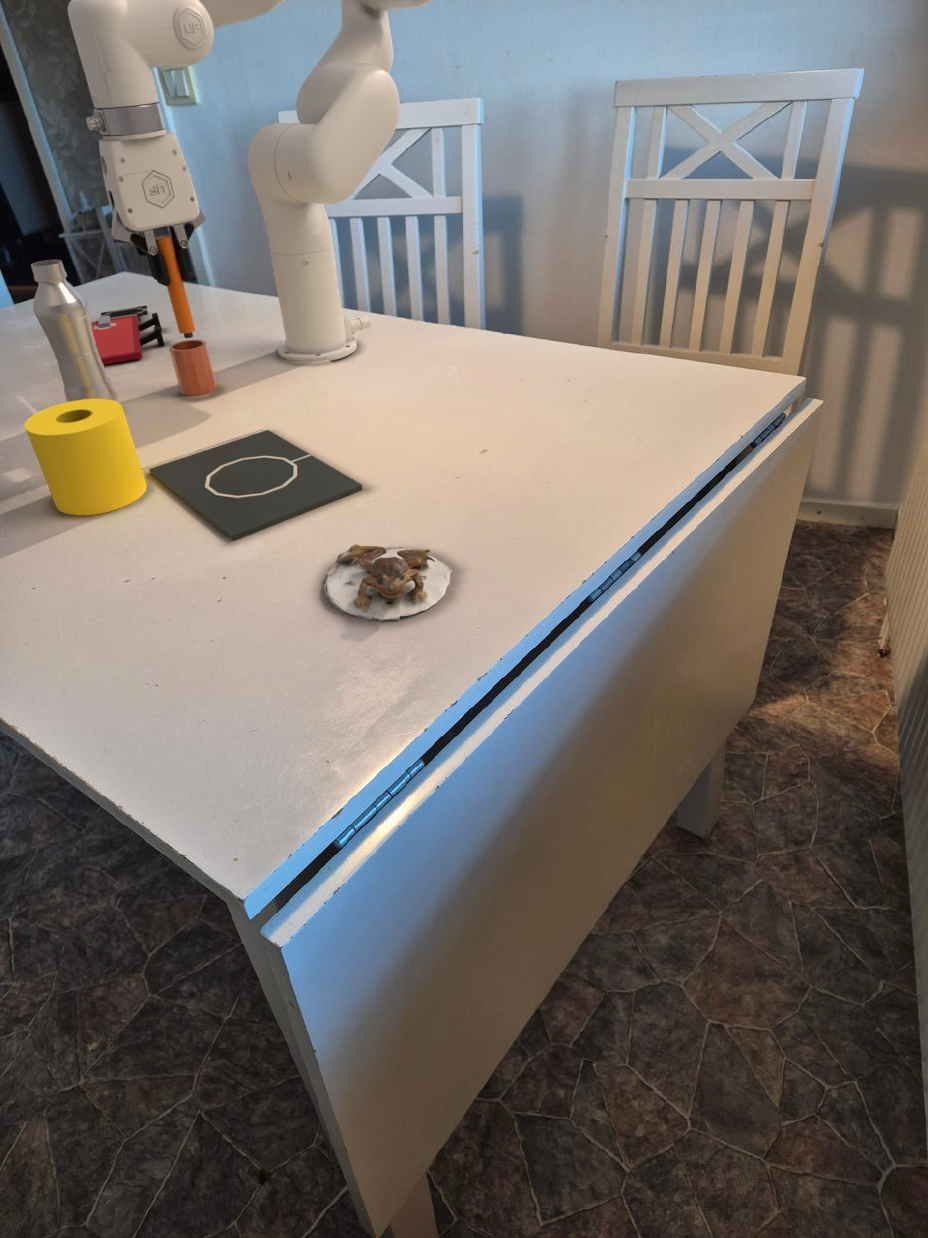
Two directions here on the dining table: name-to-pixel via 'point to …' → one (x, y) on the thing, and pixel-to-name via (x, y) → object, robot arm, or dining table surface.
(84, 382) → the silver bottle
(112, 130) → the robot arm
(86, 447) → the yellow hollow cylinder
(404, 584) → the frog figurine
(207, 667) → the dining table surface
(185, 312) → the marker
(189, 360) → the pen cup
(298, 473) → the slate board
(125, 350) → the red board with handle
